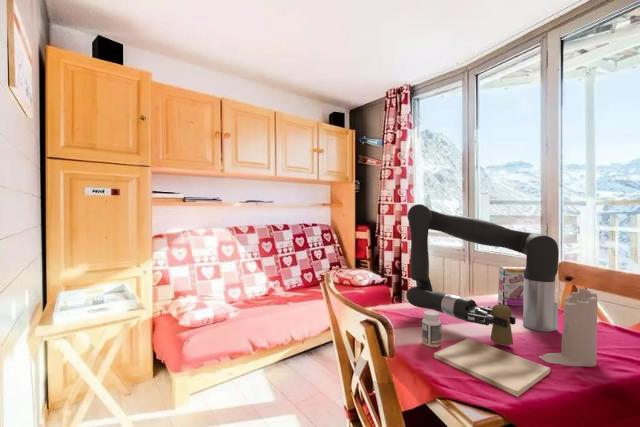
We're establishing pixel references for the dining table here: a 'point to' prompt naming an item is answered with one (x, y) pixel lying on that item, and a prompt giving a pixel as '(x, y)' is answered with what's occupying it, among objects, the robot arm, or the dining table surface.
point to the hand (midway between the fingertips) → (511, 322)
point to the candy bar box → (511, 286)
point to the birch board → (493, 365)
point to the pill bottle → (431, 329)
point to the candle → (578, 331)
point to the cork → (502, 333)
